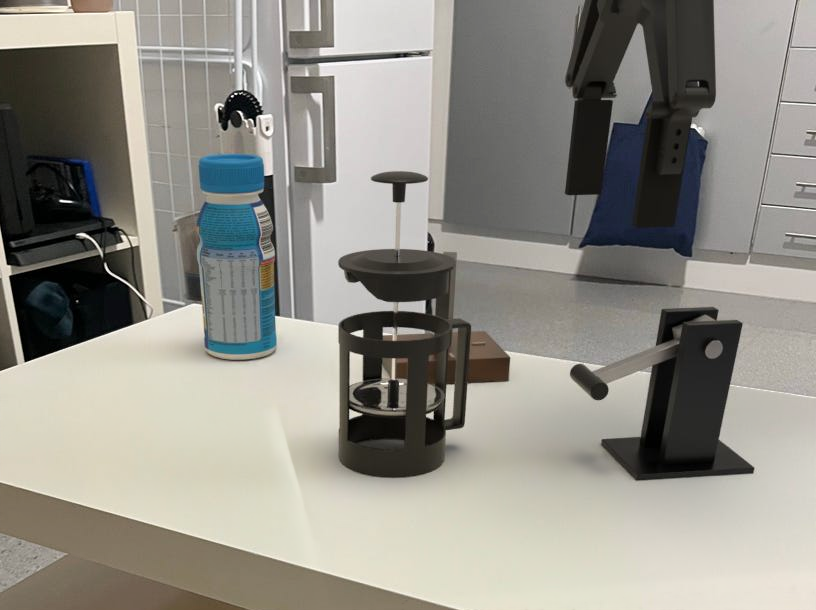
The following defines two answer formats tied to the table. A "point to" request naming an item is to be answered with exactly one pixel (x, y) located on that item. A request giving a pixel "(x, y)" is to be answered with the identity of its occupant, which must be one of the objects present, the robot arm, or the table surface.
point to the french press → (391, 397)
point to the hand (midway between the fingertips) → (615, 209)
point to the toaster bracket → (686, 403)
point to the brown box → (483, 359)
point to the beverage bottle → (236, 258)
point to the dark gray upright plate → (447, 295)
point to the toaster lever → (626, 365)
